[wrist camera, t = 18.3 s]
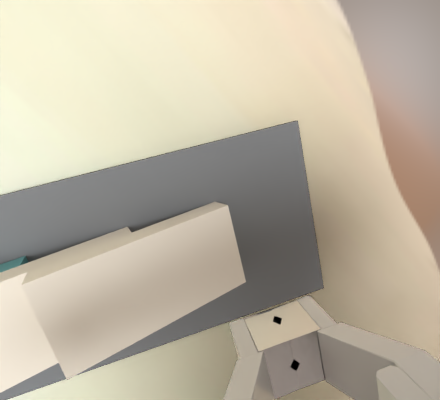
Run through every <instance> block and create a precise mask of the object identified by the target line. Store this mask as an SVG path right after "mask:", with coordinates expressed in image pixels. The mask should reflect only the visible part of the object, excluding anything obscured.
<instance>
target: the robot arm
mask: <svg viewBox="0 0 440 400" xmlns="http://www.w3.org/2000/svg"><path fill="white" fill-rule="evenodd" d="M229 326H230V330H231V333H232V337H233V341H234V345H235V348H236V352H237V356H238V359H239V360H237V361H236V364H235V367H234V370H233V373H232V376H231V379H230V382H229V384H228V387H227V390H226V393H225V396H224V399H223V400H275V399H278V398H280V397H282V396H284V395H287V394H289V393H291V392H294V391H296V390H298V389H301V388H304V387H306V386H309V385H312V384H315V383H318V382H320V381H323V380H326V382H328V383H329V384H331V385H332V386H334V387H336V388H337V389H339V390H340V391H342V392H343V393H345V394H346V395H348V396H349V397H351V398H353V399H354V400H440V362H439V361H438V360H436V359H435V358H434V357H433V356H431V355H430V354H429V353H428V352H426V351H425V350H422V349H419V348H416V347H413V346H411V345H408V344H405V343H402V342H399V341H396V340H393V339H390V338H387V337H384V336H381V335H378V334H375V333H372V332H369V331H366V330H363V329H360V328H357V327H354V326H351V325H348V324H345V323H342V322H340V323H336V322H335V321H334V320H333V319H332V318H331V317H330V316H329V315H328V314H327V313H326V312H325V311H324V310H323V308H322V307H321V306H320V305H319V304H318V303H317V302H316V301H315V300H314V299H313V298H312V297H311V296H309V295H307V296H305V297H302V298H299V299H297V300H295V301H293V302H290V303H287V304H284V305H281V306H278V307H276V308H273V309H269V310H266V311H263V312H260V313H257V314H254V315H251V316H247V317H244V318H242V319H239V320H236V321H233V322H230V323H229Z"/></svg>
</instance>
